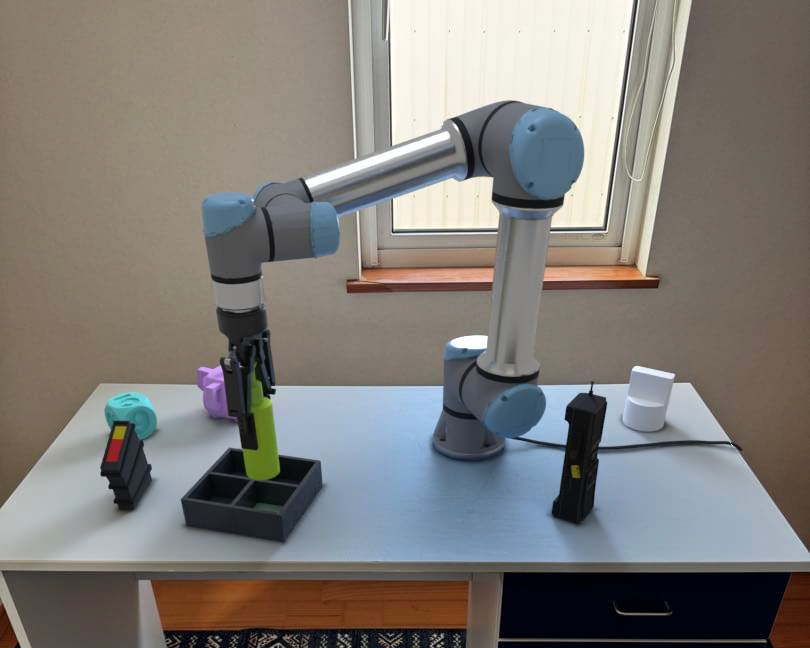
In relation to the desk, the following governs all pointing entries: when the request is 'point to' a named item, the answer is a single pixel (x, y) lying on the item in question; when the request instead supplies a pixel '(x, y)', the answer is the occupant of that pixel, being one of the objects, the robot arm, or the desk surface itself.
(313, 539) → the desk surface
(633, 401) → the cylinder with rectangular tab
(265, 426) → the soap dispenser
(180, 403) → the desk surface
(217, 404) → the pot
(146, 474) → the black ridged block
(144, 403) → the decorative dice
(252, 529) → the rack
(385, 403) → the desk surface
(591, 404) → the portable radio
